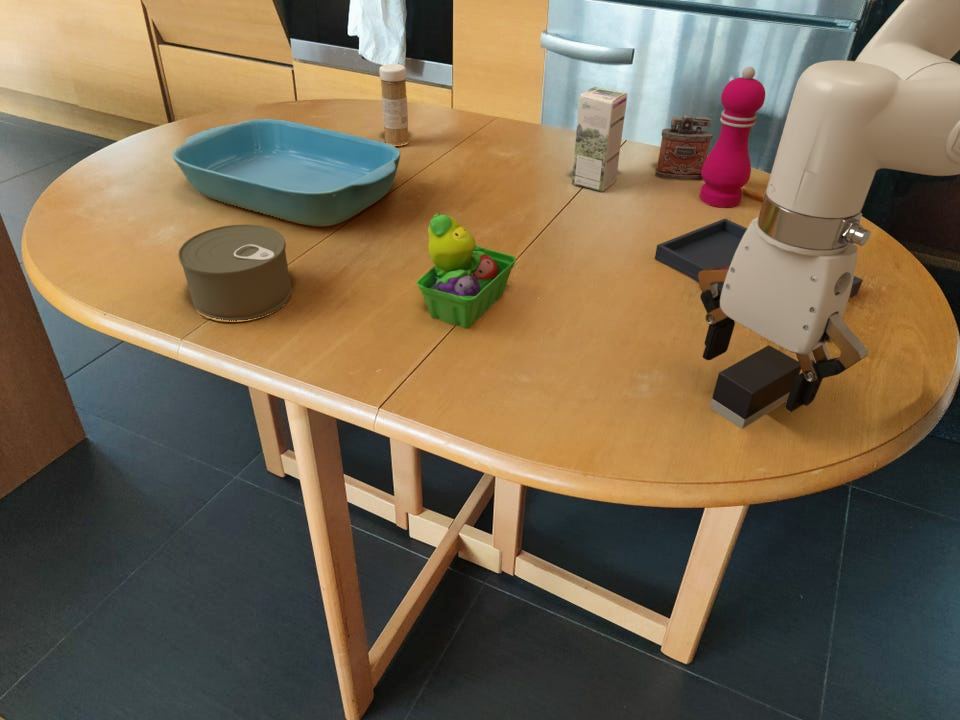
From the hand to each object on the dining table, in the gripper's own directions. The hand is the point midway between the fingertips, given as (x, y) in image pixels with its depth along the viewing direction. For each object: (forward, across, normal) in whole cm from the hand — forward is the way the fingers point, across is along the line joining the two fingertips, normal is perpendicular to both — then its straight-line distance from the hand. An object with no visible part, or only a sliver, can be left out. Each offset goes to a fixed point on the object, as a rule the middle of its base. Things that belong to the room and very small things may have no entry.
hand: (753, 379), depth 71 cm
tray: (+3, +16, -22) cm, 28 cm away
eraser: (+3, 0, 0) cm, 3 cm away
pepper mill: (+3, +34, -38) cm, 51 cm away
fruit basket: (+4, +32, +13) cm, 34 cm away
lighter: (+3, +44, -40) cm, 60 cm away
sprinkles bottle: (+4, +84, -9) cm, 84 cm away
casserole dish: (+4, +74, +16) cm, 76 cm away
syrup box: (+3, +50, -26) cm, 56 cm away
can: (+4, +49, +34) cm, 59 cm away
